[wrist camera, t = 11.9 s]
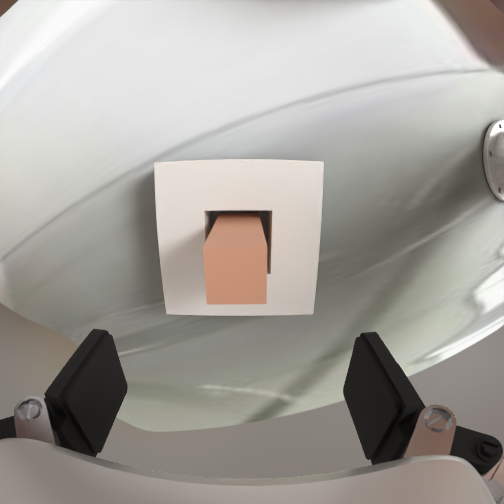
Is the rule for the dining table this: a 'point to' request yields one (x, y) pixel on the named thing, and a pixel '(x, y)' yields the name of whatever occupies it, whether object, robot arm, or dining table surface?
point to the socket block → (240, 201)
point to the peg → (236, 260)
